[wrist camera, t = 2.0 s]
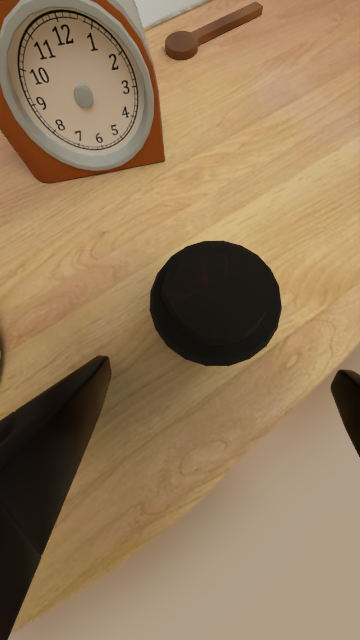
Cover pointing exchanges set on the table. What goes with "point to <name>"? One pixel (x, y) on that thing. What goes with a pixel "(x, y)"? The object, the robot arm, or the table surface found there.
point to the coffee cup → (215, 303)
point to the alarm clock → (78, 87)
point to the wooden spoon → (208, 32)
